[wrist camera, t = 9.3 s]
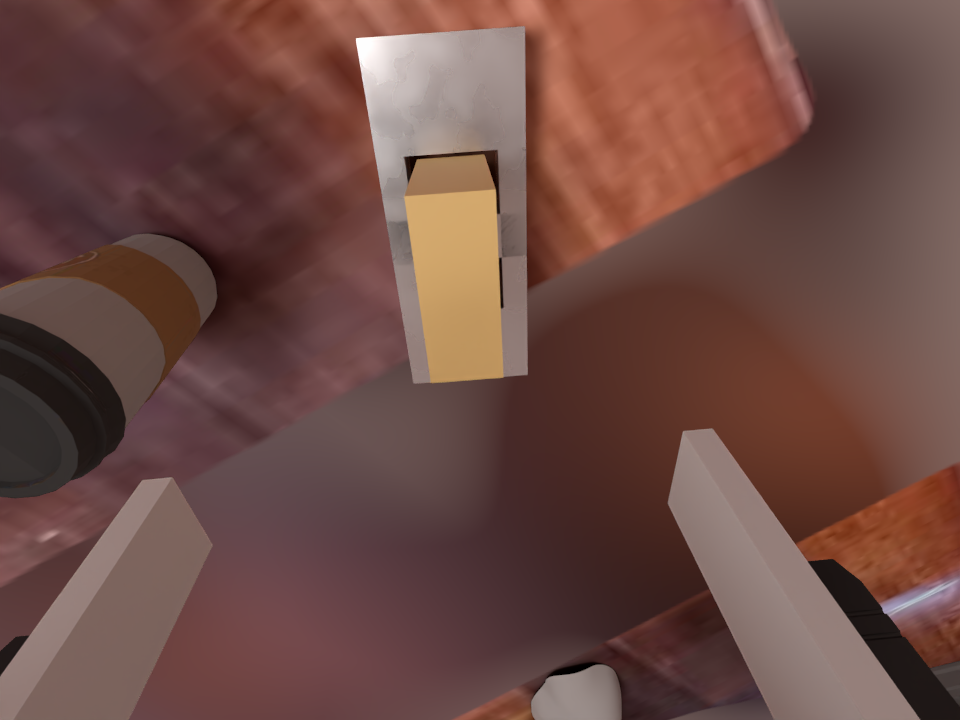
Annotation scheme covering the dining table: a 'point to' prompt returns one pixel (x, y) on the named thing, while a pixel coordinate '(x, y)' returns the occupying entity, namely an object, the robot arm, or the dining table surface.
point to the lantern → (949, 678)
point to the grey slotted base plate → (452, 129)
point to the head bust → (579, 696)
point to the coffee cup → (91, 353)
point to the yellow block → (456, 266)
